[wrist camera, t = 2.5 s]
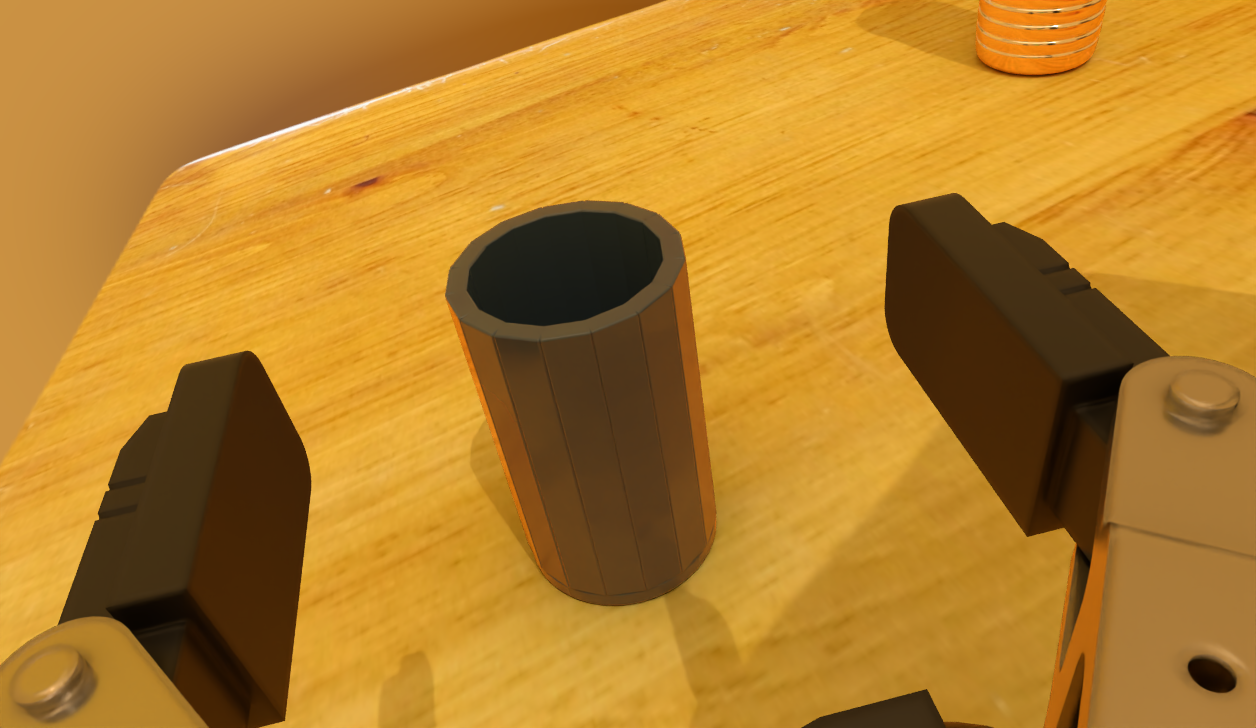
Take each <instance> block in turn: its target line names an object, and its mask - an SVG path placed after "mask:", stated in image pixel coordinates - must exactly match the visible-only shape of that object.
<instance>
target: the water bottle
mask: <svg viewBox="0 0 1256 728" xmlns="http://www.w3.org/2000/svg"><path fill="white" fill-rule="evenodd" d="M1106 2H1107V0H979V8H978V15H977V19H978V21H977V24H976V52H977V55H978V57H979V58H980V60H981V61H982V62H983V63H985V64H986V65H988V66H989V67H991V68H994V69H996V70H999V71H1003V72H1007V73H1013V74H1021V75H1045V74H1054V73H1059V72H1064V71H1068V70H1071V69H1073V68H1076V67H1078V66H1080V65H1082V64H1083V63H1085V62H1086V61H1087V60H1088V59H1089V58H1090V57H1091V56H1092V55H1093V53H1094V51H1095V49H1096V46H1097V43H1098V40H1099V34H1100V32H1101V29H1102V20H1103V17H1104V14H1105V8H1106V5H1105V4H1106Z"/></svg>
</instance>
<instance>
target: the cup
mask: <svg viewBox="0 0 1256 728" xmlns="http://www.w3.org/2000/svg"><path fill="white" fill-rule="evenodd" d="M445 297H446V301H447V304H448V307H449V310H450V313H451V316H452V319H453V322H454V325H455V328H456V331H457V334H458V337H459V340H460V343H461V346H462V349H463V351H464V354H465V357H466V360H467V363H468V366H469V369H470V372H471V375H472V378H473V381H474V384H475V387H476V390H477V393H478V396H479V399H480V402H481V405H482V408H483V411H484V414H485V417H486V420H487V423H488V425H489V428H490V431H491V434H492V437H493V440H494V443H495V446H496V449H497V452H498V455H499V458H500V461H501V464H502V467H503V470H504V473H505V476H506V479H507V482H508V485H509V488H510V491H511V494H512V497H513V499H514V502H515V505H516V508H517V511H518V514H519V517H520V520H521V523H522V526H523V529H524V532H525V535H526V538H527V541H528V544H529V546H530V548H531V550H532V552H533V555H534V558H535V560H536V562H537V565H538V567H539V568H540V570H541V572H542V573H543V575H544V576H545V577H546V578H547V579H548V580H549V581H550V583H552V584H553V585H554V586H555V587H557V588H558V589H559V590H561V591H562V592H564V593H566V594H567V595H569V596H571V597H574V598H576V599H578V600H581V601H585V602H588V603H593V604H599V605H615V606H617V605H629V604H634V603H640V602H644V601H647V600H650V599H653V598H656V597H658V596H661V595H663V594H665V593H667V592H669V591H671V590H672V589H674V588H676V587H678V586H679V585H680V584H682V583H683V582H684V581H686V580H687V579H688V578H689V577H690V576H691V575H692V574H693V573H694V572H695V571H696V570H697V569H698V568H699V566H700V565H701V564H702V563H703V561H704V560H705V558H706V556H707V555H708V553H709V551H710V549H711V546H712V544H713V541H714V537H715V533H716V505H715V497H714V489H713V480H712V472H711V464H710V456H709V447H708V439H707V431H706V422H705V414H704V406H703V397H702V389H701V381H700V372H699V364H698V356H697V347H696V339H695V331H694V322H693V314H692V306H691V297H690V289H689V281H688V272H687V264H686V257H685V252H684V247H683V242H682V237H681V234H680V233H679V231H678V230H676V229H675V228H674V227H673V226H672V225H671V224H670V223H669V222H667V221H666V220H665V219H664V218H663V217H662V216H661V215H660V214H657V213H656V212H653V211H650V210H647V209H644V208H641V207H638V206H634V205H631V204H628V203H624V202H610V201H590V200H586V201H577V202H571V203H564V204H558V205H552V206H545V207H543V208H542V207H541V208H538V209H535V210H532V211H529V212H527V213H524V214H521V215H519V216H516V217H513V218H511V219H508V220H505V221H503V222H501V223H499V224H498V225H496V226H494V227H493V228H491V229H490V230H488V231H487V232H485V233H484V234H482V235H481V236H479V237H478V238H476V239H475V240H473V241H472V242H471V243H470V244H469V245H468V246H467V247H466V248H465V250H464V251H463V252H462V253H461V255H460V256H459V257H458V258H457V260H456V261H455V262H454V263H453V265H452V266H451V267H450V270H449V274H448V280H447V287H446V293H445Z"/></svg>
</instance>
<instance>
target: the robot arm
mask: <svg viewBox="0 0 1256 728" xmlns="http://www.w3.org/2000/svg"><path fill="white" fill-rule="evenodd" d="M885 317H886V323H887V328H888V332H889V335H890V338H891V341H892V343H893V345H894V347H895V349H896V351H897V353H898V354H899V356H900V357H901V359H902V360H903V361H904V363H905V364H906V366H907V367H908V368H909V370H910V371H911V373H912V374H913V376H914V377H915V378H916V380H917V381H918V383H919V384H920V386H921V387H922V388H923V390H924V391H925V393H926V394H927V395H928V397H929V398H930V400H931V401H932V403H933V404H934V405H935V407H936V408H937V410H938V411H939V412H940V414H941V415H942V417H943V418H944V420H945V421H946V422H947V424H948V425H949V427H950V428H951V429H952V431H953V432H954V434H955V435H956V437H957V438H958V439H959V441H960V442H961V444H962V445H963V446H964V448H965V449H966V451H967V452H968V454H969V455H970V456H971V458H972V459H973V461H974V462H975V463H976V465H977V466H978V468H979V469H980V471H981V472H982V473H983V475H984V476H985V478H986V479H987V481H988V482H989V483H990V485H991V486H992V488H993V489H994V490H995V492H996V493H997V495H998V496H999V498H1000V499H1001V500H1002V502H1003V503H1004V505H1005V506H1006V507H1007V509H1008V510H1009V512H1010V513H1011V515H1012V516H1013V517H1014V519H1015V520H1016V522H1017V523H1018V524H1019V526H1020V527H1021V529H1022V530H1023V532H1024V533H1025V534H1026V536H1027V537H1029V536H1032V535H1036V534H1040V533H1044V532H1048V531H1052V530H1056V529H1060V528H1065V529H1066V530H1067V532H1068V533H1069V534H1070V536H1071V537H1072V538H1073V540H1074V541H1075V542H1076V544H1075V548H1074V551H1073V555H1072V558H1071V563H1070V570H1069V576H1068V583H1067V590H1066V596H1065V603H1064V610H1063V616H1062V623H1061V629H1060V636H1059V643H1058V649H1057V656H1056V663H1055V669H1054V676H1053V682H1052V689H1051V694H1050V700H1049V705H1048V710H1047V714H1046V719H1045V723H1044V727H1043V728H1256V378H1255V377H1254V376H1252V375H1250V374H1248V373H1247V372H1245V371H1243V370H1241V369H1238V368H1236V367H1233V366H1231V365H1228V364H1225V363H1222V362H1218V361H1215V360H1210V359H1205V358H1199V357H1190V356H1169V355H1168V354H1167V353H1166V352H1165V351H1164V350H1163V349H1162V348H1161V347H1160V346H1159V345H1157V344H1156V343H1155V342H1154V341H1153V340H1152V339H1151V338H1150V337H1149V336H1148V335H1147V334H1145V333H1144V332H1143V331H1142V330H1141V329H1140V328H1139V327H1138V326H1137V325H1136V324H1135V323H1133V322H1132V321H1131V320H1130V319H1129V318H1128V317H1127V316H1126V315H1125V314H1124V313H1123V312H1121V311H1120V310H1119V309H1118V308H1117V307H1116V306H1115V305H1114V304H1113V303H1112V302H1111V301H1109V300H1108V299H1107V298H1106V297H1105V296H1104V295H1103V294H1102V293H1101V292H1100V291H1098V290H1097V289H1096V288H1093V289H1091V287H1090V282H1089V281H1088V280H1086V279H1085V278H1084V277H1083V276H1082V275H1081V274H1080V273H1079V272H1078V271H1077V270H1076V269H1074V268H1072V269H1070V268H1069V263H1068V262H1067V261H1066V260H1065V259H1064V258H1062V257H1061V256H1060V255H1059V254H1058V253H1057V252H1056V251H1055V250H1054V249H1053V248H1052V247H1050V246H1049V245H1048V244H1047V243H1046V242H1045V241H1044V240H1043V239H1041V238H1039V237H1036V236H1034V235H1032V234H1030V233H1027V232H1025V231H1023V230H1021V229H1019V228H1016V227H1014V226H1012V225H1010V224H1007V223H1005V222H1002V223H998V224H993V225H991V224H990V223H989V222H988V221H987V220H986V219H985V218H984V217H983V216H982V215H981V214H980V213H979V212H978V211H977V210H976V209H975V208H974V207H973V206H972V205H971V204H970V203H969V202H968V201H967V200H966V199H965V198H964V197H962V196H961V195H959V194H957V193H951V194H947V195H942V196H938V197H933V198H929V199H925V200H920V201H916V202H911V203H907V204H902V205H898V206H896V207H895V208H894V209H893V211H892V213H891V216H890V222H889V236H888V254H887V272H886V290H885ZM108 485H109V488H110V490H109V491H106V492H105V495H104V498H103V500H102V503H101V506H100V509H99V511H98V515H99V520H97V521H95V523H94V525H93V528H92V531H91V534H90V537H89V539H88V542H87V545H86V548H85V550H84V553H83V556H82V559H81V562H80V564H79V567H78V570H77V573H76V576H75V578H74V581H73V584H72V587H71V589H70V592H69V595H68V598H67V601H66V603H65V606H64V609H63V612H62V614H61V617H60V620H59V623H58V625H57V626H55V627H53V628H51V629H49V630H47V631H45V632H43V633H41V634H39V635H38V636H36V637H34V638H33V639H31V640H30V641H28V642H27V643H25V644H24V645H23V646H22V647H20V648H19V649H18V650H16V651H15V652H14V653H13V654H12V655H11V656H10V657H9V658H7V659H6V660H5V661H4V662H3V663H2V664H1V665H0V728H259V727H263V726H266V725H270V724H274V723H278V722H282V721H285V715H286V706H287V698H288V689H289V680H290V671H291V662H292V654H293V645H294V636H295V627H296V618H297V610H298V601H299V592H300V583H301V574H302V566H303V557H304V548H305V539H306V530H307V522H308V513H309V504H310V495H311V473H310V467H309V462H308V458H307V454H306V451H305V448H304V445H303V443H302V441H301V438H300V436H299V434H298V433H297V431H296V429H295V427H294V425H293V423H292V421H291V419H290V417H289V415H288V413H287V411H286V409H285V408H284V406H283V404H282V402H281V400H280V398H279V396H278V394H277V392H276V390H275V388H274V386H273V384H272V383H271V381H270V379H269V377H268V375H267V373H266V371H265V369H264V367H263V365H262V364H261V362H260V360H259V359H258V358H257V356H256V355H255V354H254V353H252V352H251V351H244V352H239V353H235V354H230V355H226V356H222V357H217V358H213V359H208V360H204V361H199V362H195V363H191V364H186V365H185V366H183V367H182V369H181V371H180V373H179V376H178V379H177V382H176V385H175V388H174V392H173V395H172V398H171V401H170V404H169V407H168V411H167V412H163V413H159V414H154V415H150V416H149V417H148V418H147V419H146V420H145V421H144V423H143V424H142V425H141V426H140V427H139V428H138V430H137V431H136V432H135V433H134V434H133V436H132V437H131V438H130V439H129V440H128V442H127V443H126V444H125V445H124V446H123V448H122V449H121V450H120V453H119V456H118V459H117V461H116V464H115V467H114V470H113V472H112V475H111V478H110V481H109V484H108ZM802 728H993V727H989V726H984V725H976V724H968V723H960V722H943V720H942V718H941V716H940V714H939V712H938V710H937V708H936V706H935V704H934V702H933V700H932V698H931V696H930V694H929V692H928V690H927V689H926V690H922V691H918V692H915V693H911V694H907V695H903V696H899V697H895V698H892V699H888V700H884V701H880V702H876V703H872V704H869V705H865V706H861V707H857V708H853V709H850V710H846V711H842V712H838V713H834V714H830V715H827V716H823V717H819V718H818V719H816V720H814V721H812V722H811V723H809V724H807V725H806V726H804V727H802Z"/></svg>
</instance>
